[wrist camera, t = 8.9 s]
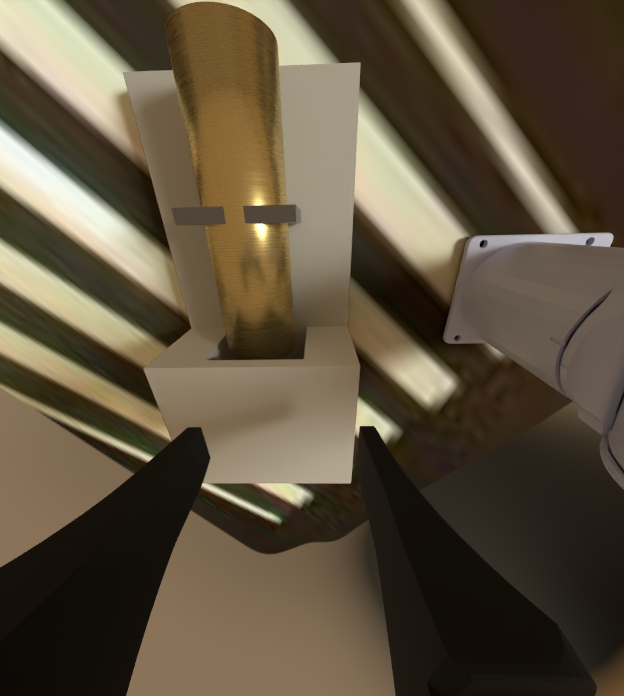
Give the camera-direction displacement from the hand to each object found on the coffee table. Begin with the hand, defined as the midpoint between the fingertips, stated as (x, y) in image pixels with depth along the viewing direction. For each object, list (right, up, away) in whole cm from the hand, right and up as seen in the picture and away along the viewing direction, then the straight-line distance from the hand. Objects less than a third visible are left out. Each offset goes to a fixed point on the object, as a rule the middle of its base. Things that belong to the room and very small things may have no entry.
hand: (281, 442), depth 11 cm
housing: (-2, +8, +8) cm, 11 cm away
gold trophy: (-2, +12, +4) cm, 13 cm away
